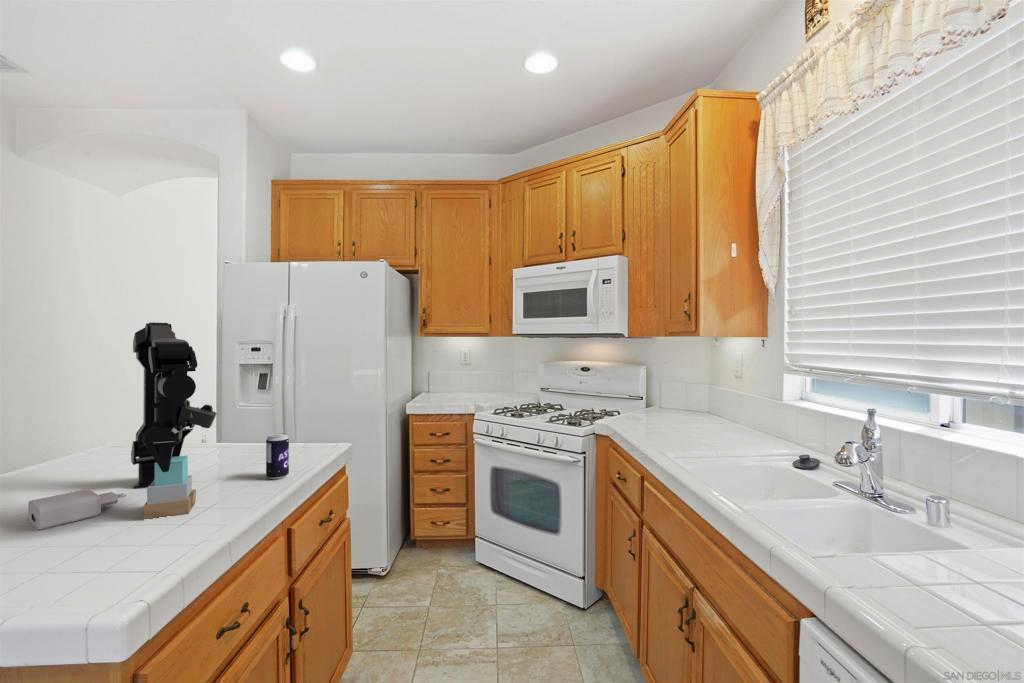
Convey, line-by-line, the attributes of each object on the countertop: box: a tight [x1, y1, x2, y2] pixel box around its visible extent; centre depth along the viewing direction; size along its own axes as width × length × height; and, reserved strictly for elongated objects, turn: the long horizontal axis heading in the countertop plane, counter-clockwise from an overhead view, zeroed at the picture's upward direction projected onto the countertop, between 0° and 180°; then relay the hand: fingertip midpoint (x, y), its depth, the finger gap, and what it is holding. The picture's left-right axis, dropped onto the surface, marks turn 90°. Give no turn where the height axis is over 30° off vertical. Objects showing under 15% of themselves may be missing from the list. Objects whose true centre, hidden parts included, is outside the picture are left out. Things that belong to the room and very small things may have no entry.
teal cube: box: [155, 455, 189, 486], centre depth 102 cm, size 5×5×5 cm
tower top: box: [146, 474, 193, 504], centre depth 102 cm, size 7×7×4 cm
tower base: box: [142, 488, 197, 521], centre depth 102 cm, size 8×8×4 cm
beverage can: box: [265, 432, 290, 480], centre depth 127 cm, size 6×6×12 cm
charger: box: [27, 489, 127, 531], centre depth 100 cm, size 5×9×15 cm
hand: (170, 466), depth 102 cm, fingers open, 9 cm apart
